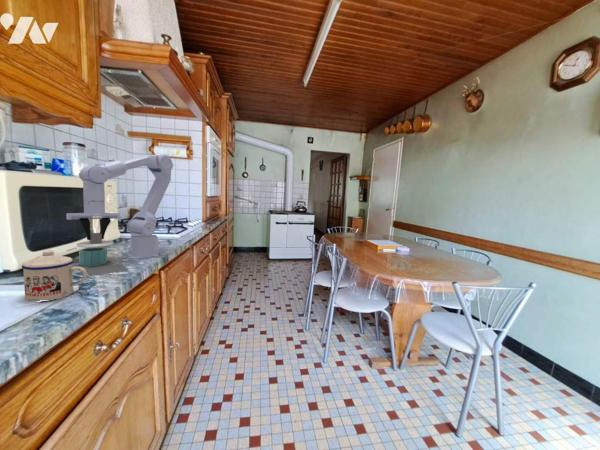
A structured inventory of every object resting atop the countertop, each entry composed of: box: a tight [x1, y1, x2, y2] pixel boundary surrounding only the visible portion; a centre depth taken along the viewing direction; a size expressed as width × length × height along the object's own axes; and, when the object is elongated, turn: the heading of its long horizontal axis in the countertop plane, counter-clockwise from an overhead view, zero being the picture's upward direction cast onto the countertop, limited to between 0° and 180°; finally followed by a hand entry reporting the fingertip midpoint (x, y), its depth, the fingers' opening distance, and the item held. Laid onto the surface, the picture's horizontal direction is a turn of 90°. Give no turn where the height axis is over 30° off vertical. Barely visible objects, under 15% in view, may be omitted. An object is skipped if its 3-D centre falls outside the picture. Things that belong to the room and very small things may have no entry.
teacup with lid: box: [21, 249, 88, 302], centre depth 63 cm, size 12×9×12 cm
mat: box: [84, 263, 130, 277], centre depth 85 cm, size 10×10×1 cm
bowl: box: [78, 247, 108, 267], centre depth 90 cm, size 8×8×5 cm
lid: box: [76, 232, 114, 249], centre depth 88 cm, size 10×10×4 cm
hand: (95, 239), depth 88 cm, fingers closed on lid, 3 cm apart
